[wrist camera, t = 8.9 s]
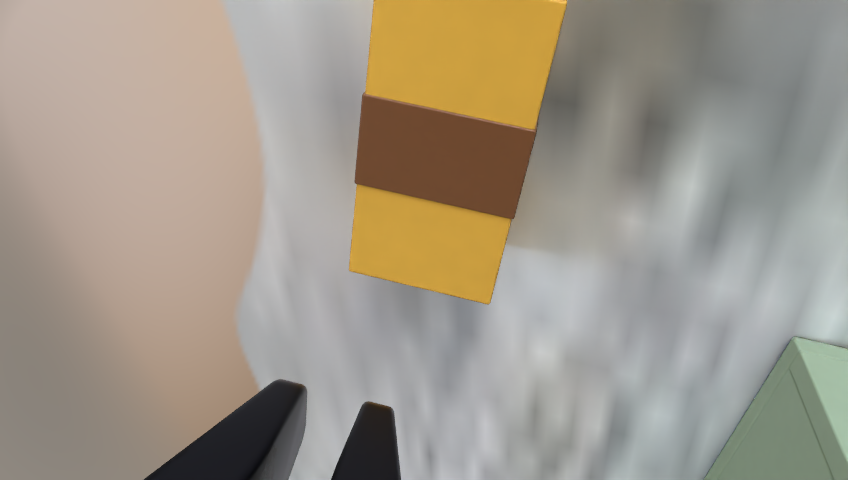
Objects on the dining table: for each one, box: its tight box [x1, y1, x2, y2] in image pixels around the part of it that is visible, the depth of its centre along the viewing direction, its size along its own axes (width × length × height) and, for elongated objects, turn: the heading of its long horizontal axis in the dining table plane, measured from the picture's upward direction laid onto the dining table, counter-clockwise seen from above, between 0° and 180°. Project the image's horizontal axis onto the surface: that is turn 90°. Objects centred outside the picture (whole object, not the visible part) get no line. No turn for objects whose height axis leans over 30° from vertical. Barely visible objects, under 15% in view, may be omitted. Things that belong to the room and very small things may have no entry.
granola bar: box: [349, 0, 567, 304], centre depth 16 cm, size 4×8×3 cm, turn 172°
